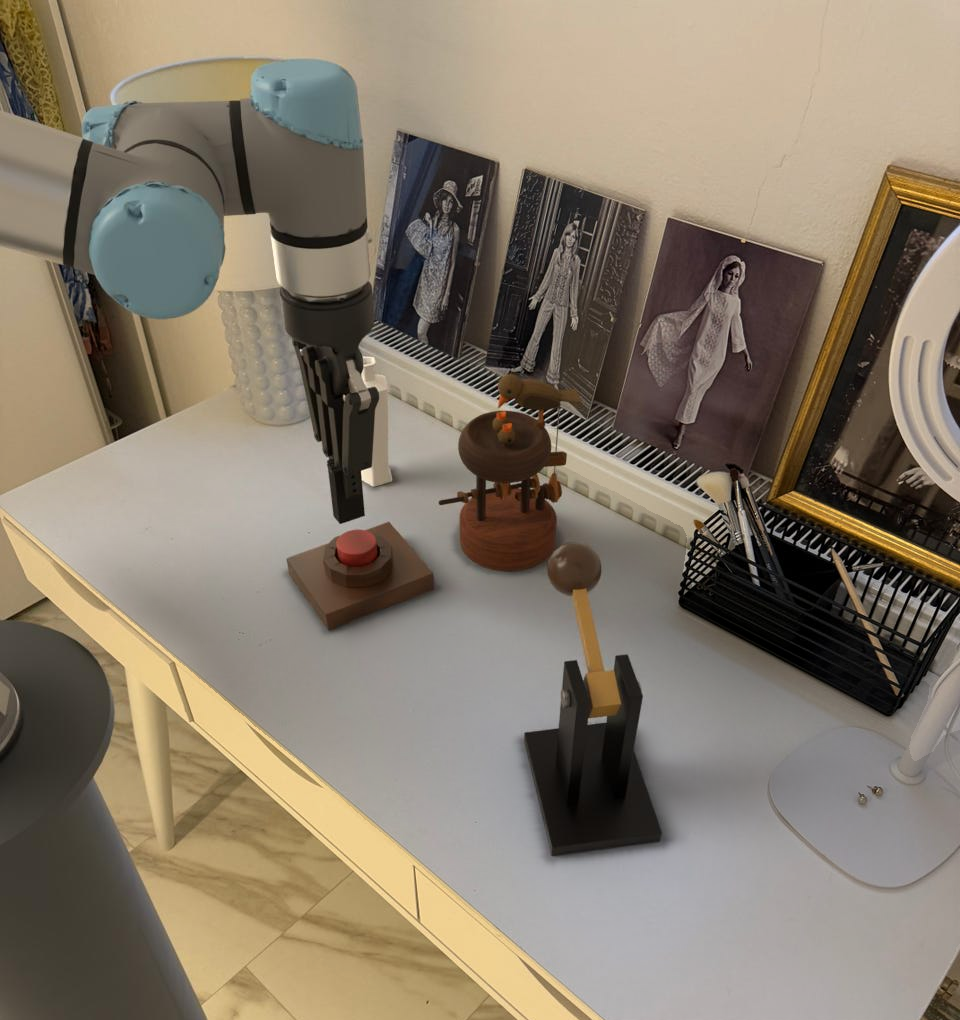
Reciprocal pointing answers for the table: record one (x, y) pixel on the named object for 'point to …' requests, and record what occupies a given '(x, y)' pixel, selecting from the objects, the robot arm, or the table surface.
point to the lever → (585, 620)
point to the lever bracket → (592, 770)
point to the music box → (511, 479)
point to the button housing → (360, 578)
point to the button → (356, 548)
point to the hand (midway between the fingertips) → (349, 515)
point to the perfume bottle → (377, 427)
